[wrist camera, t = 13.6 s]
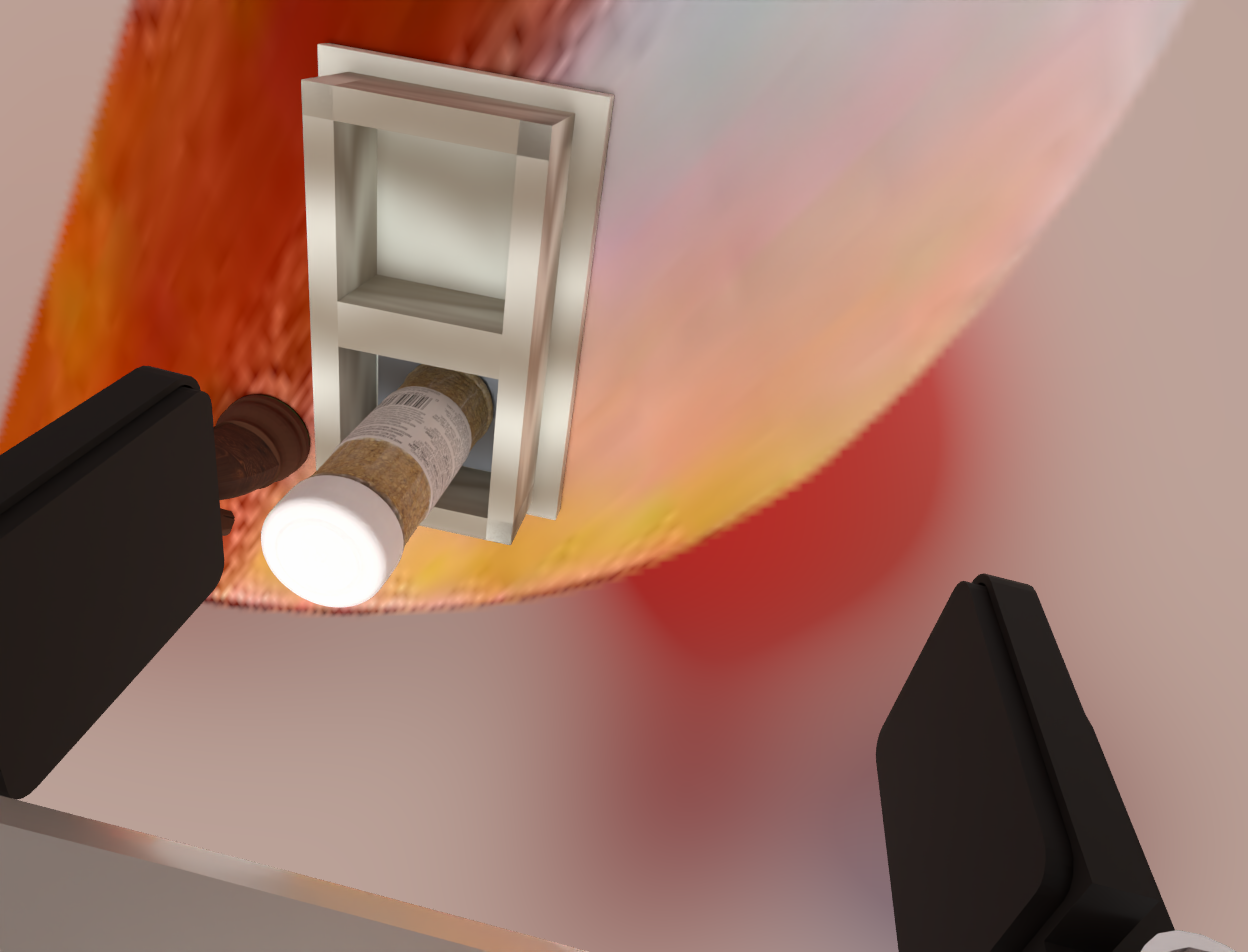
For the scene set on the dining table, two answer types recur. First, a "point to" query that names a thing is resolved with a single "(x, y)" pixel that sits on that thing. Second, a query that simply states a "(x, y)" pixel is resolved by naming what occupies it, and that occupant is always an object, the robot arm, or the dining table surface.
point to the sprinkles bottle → (376, 488)
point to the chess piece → (256, 447)
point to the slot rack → (453, 259)
